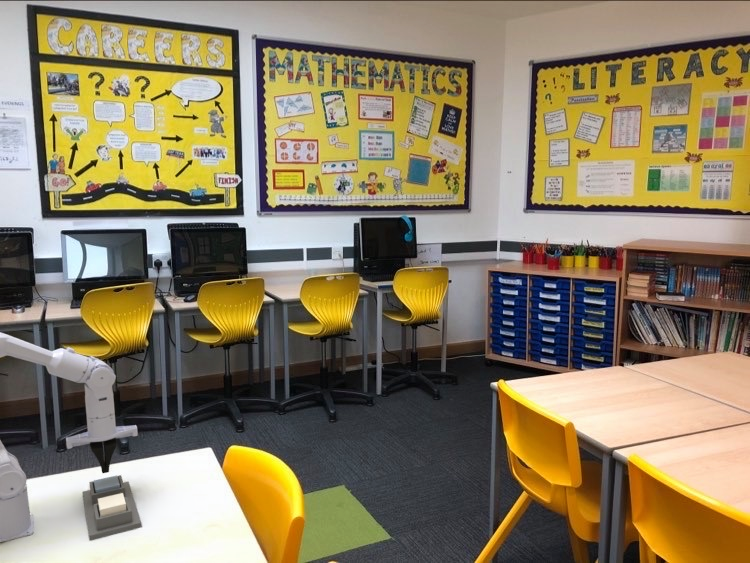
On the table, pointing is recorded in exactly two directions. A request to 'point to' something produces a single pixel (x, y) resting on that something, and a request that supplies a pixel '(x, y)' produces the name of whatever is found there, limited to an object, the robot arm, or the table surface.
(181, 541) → the table surface
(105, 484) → the blue key
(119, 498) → the white key
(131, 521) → the key board
